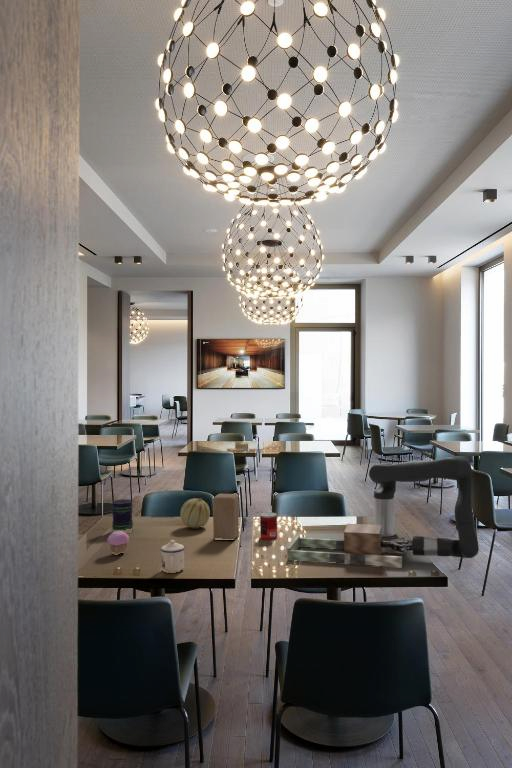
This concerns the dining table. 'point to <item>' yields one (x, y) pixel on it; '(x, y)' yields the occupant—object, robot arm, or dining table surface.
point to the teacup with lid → (172, 556)
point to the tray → (338, 557)
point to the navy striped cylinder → (122, 514)
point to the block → (225, 516)
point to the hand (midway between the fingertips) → (380, 543)
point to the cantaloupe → (195, 513)
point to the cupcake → (118, 541)
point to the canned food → (268, 526)
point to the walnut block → (362, 539)
